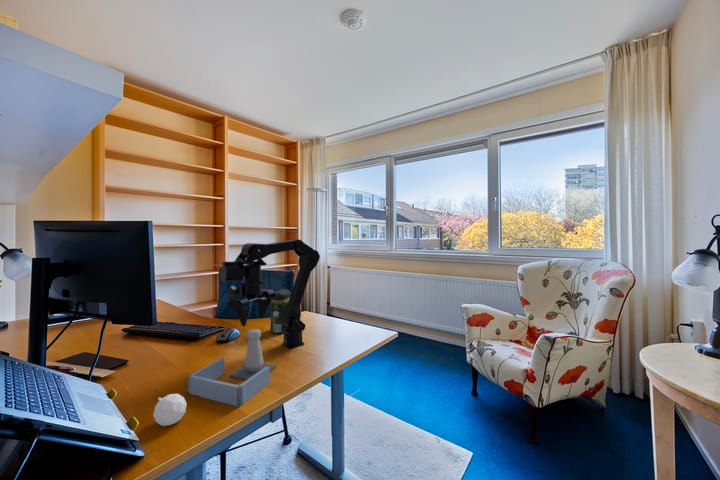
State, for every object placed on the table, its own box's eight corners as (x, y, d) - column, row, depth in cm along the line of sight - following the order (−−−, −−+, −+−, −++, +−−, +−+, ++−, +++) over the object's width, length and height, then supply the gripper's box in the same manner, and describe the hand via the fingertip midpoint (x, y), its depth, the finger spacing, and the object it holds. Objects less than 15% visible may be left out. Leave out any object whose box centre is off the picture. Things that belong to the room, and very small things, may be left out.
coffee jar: (279, 326, 139) (279, 287, 138) (294, 328, 137) (293, 288, 136) (266, 333, 130) (266, 291, 129) (282, 335, 127) (282, 292, 127)
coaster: (251, 362, 101) (251, 361, 101) (275, 367, 98) (275, 365, 98) (229, 376, 92) (229, 374, 92) (256, 382, 88) (256, 380, 88)
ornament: (170, 434, 66) (147, 411, 64) (164, 430, 70) (142, 409, 69) (196, 407, 70) (174, 386, 69) (189, 406, 75) (168, 385, 74)
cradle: (222, 373, 94) (221, 357, 94) (269, 383, 88) (269, 366, 88) (187, 393, 82) (187, 376, 82) (239, 406, 76) (239, 388, 76)
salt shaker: (243, 375, 91) (242, 334, 91) (245, 366, 97) (245, 328, 96) (262, 372, 93) (262, 332, 92) (264, 364, 98) (263, 326, 98)
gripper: (251, 273, 115) (251, 312, 116) (213, 281, 98) (214, 327, 98) (275, 275, 112) (275, 315, 112) (240, 283, 94) (241, 331, 95)
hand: (252, 322), depth 105 cm, fingers open, 9 cm apart
